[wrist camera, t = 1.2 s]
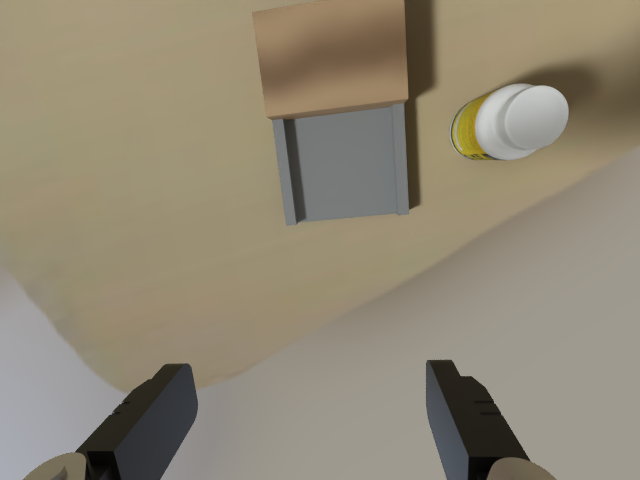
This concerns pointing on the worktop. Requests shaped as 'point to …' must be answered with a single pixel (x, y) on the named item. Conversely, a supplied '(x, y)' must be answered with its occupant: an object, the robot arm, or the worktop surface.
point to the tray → (343, 165)
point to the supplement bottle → (509, 122)
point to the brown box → (332, 57)
